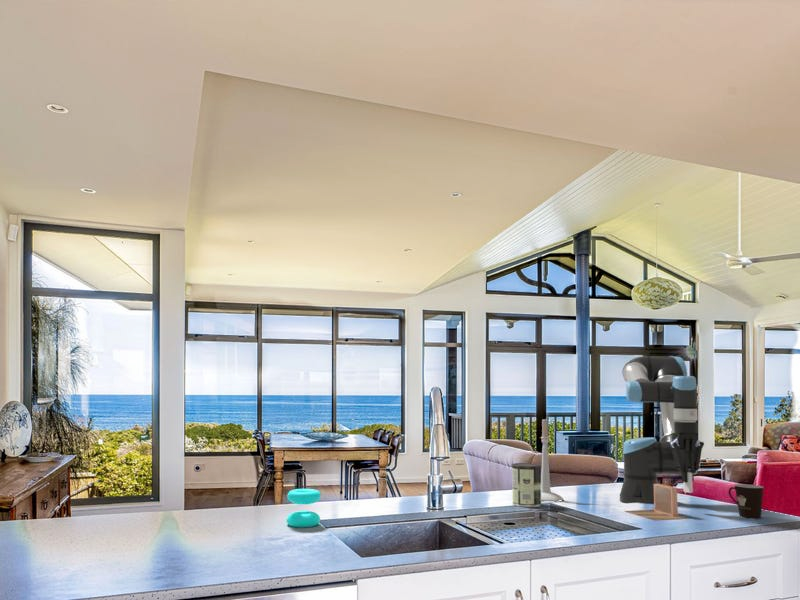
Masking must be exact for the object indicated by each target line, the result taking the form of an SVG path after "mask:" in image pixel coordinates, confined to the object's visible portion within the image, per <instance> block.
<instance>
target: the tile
mask: <svg viewBox="0 0 800 600" xmlns="http://www.w3.org/2000/svg"><path fill="white" fill-rule="evenodd" d="M653 507H654V509H653V510H654V511H656V512H659V513H663V514H667V515H670V516H678V515H679V510H678V509H679V507H678V487H676V486H671V485H666V484H662V483H658V484H654V503H653Z"/></svg>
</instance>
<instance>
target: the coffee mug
mask: <svg viewBox="0 0 800 600" xmlns="http://www.w3.org/2000/svg"><path fill="white" fill-rule="evenodd" d="M732 490H734V491H735V496H736V499H735V498H734V497H733V496H732V494H731V491H732ZM728 495H729V497H730V499H732V501H733V502H734V503H735V504H736V505H737V507H738V508H737V510H738V515H740V516H742V517H741V518H743V517H746V518H745V519H750V518H756V519H757V520H758V518H760V519H762V508H763V495H764V486H762V485H759V484H758V485H755V484H747V483H746V484H745V483H742V484H741V483H739V484H734V486H733V487H732V486H731V487H730V488H728ZM740 516H739V517H740ZM756 519H755V520H756Z"/></svg>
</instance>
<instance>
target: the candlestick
mask: <svg viewBox="0 0 800 600" xmlns="http://www.w3.org/2000/svg"><path fill="white" fill-rule="evenodd" d="M548 422H549V421H548V419H546V418H544V419H542V420H541V427H542V429H541V432H542V433H541V437H539V438H540V439H541V443H542V448H541V449H542V450H541V453H542V454H541V501H559V500H564V498H563V496H561V495H560V494H558V493H556V492H553V491H552V490H551V482H550V481H551V479H550V477H551V476H550V465H549V448H548V447H549V446H548V443H549V441H550V440H549V439H550V437H549V436H548V435H549V434H548V433H549V432H548V430H549V429H548V426H549V425H548Z"/></svg>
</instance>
